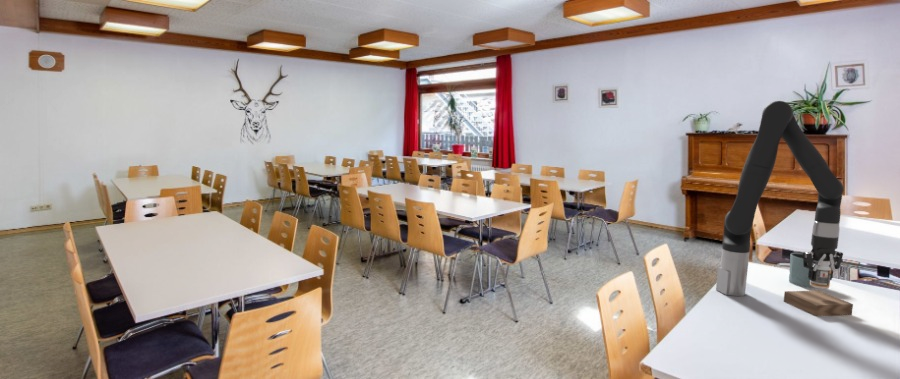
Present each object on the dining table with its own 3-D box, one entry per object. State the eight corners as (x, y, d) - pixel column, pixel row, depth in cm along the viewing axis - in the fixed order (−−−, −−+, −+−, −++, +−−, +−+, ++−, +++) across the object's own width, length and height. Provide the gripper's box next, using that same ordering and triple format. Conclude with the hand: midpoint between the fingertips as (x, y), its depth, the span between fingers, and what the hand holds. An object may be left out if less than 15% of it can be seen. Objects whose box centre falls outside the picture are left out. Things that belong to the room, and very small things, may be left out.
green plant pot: (790, 278, 210) (793, 251, 208) (818, 283, 203) (822, 256, 201) (784, 283, 203) (788, 255, 201) (814, 289, 196) (818, 260, 194)
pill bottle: (832, 289, 171) (836, 262, 170) (814, 288, 172) (817, 261, 171) (823, 284, 176) (826, 258, 175) (806, 283, 178) (809, 257, 176)
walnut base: (815, 316, 168) (816, 305, 167) (783, 301, 181) (784, 291, 181) (851, 315, 169) (853, 304, 169) (817, 300, 183) (818, 290, 182)
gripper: (834, 231, 176) (828, 276, 178) (798, 232, 174) (793, 277, 177) (853, 236, 169) (847, 282, 171) (816, 237, 167) (810, 283, 169)
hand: (819, 279), depth 174 cm, fingers closed on pill bottle, 5 cm apart
